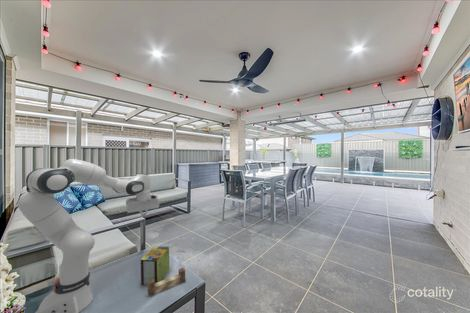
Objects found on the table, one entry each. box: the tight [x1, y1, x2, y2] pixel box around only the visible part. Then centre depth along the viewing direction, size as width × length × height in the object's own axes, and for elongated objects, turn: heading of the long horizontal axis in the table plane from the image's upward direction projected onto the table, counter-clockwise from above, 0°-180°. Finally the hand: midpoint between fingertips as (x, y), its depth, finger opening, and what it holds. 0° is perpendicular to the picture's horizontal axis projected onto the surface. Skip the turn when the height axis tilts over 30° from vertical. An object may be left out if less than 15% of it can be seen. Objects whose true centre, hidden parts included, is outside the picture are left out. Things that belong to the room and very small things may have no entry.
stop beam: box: [147, 267, 186, 297], centre depth 104 cm, size 20×4×7 cm, turn 124°
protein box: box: [140, 245, 170, 287], centre depth 112 cm, size 10×15×16 cm
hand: (143, 216), depth 124 cm, fingers closed
